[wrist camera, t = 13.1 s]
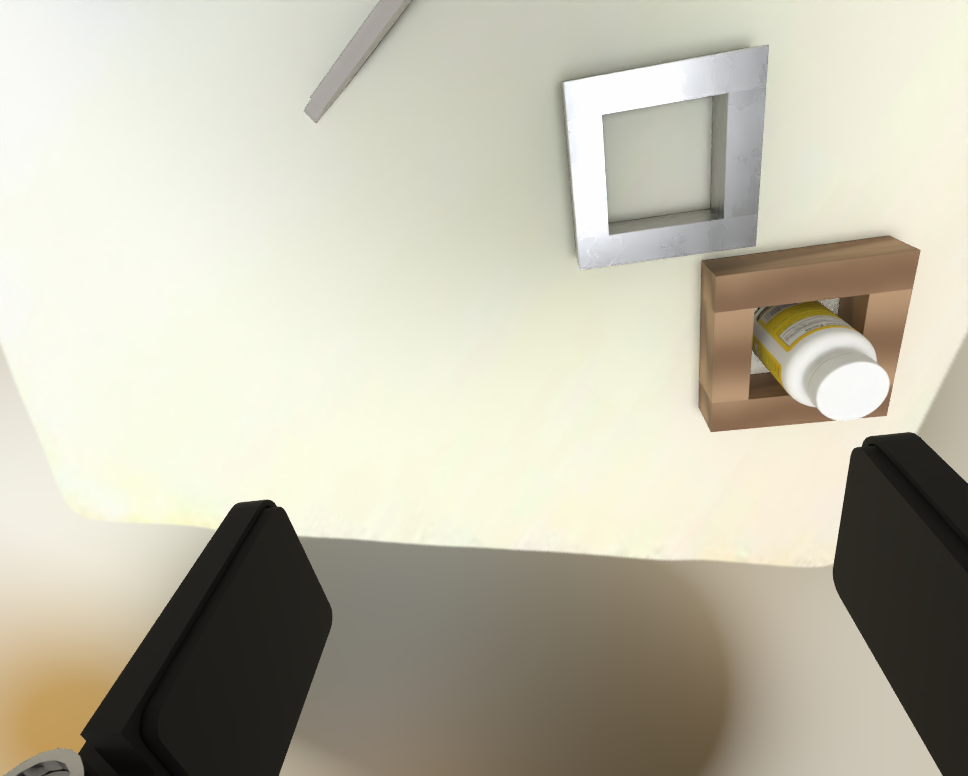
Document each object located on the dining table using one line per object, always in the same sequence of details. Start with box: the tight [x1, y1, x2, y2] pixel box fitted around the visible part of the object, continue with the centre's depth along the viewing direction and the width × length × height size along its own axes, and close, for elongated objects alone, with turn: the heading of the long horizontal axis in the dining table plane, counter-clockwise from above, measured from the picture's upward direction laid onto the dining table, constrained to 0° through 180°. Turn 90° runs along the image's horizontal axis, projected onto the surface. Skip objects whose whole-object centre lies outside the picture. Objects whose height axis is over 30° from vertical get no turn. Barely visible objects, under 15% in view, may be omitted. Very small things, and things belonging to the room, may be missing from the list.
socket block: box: [561, 45, 769, 270], centre depth 35 cm, size 11×11×3 cm
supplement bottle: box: [752, 301, 890, 421], centre depth 37 cm, size 5×5×10 cm
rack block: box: [699, 236, 920, 432], centre depth 40 cm, size 12×12×4 cm
